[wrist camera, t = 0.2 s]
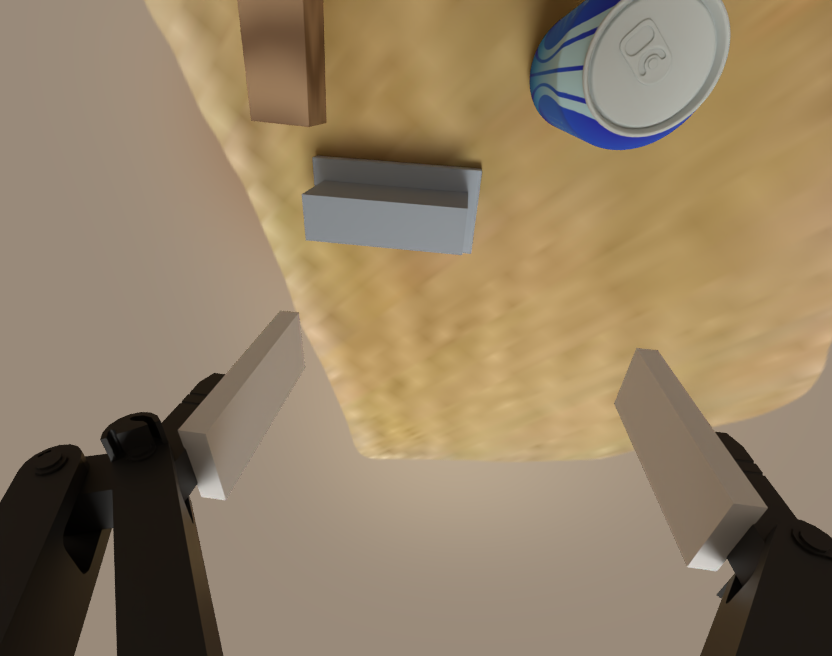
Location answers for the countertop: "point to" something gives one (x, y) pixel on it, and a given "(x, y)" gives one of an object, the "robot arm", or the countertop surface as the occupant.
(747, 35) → the countertop surface
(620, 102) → the beer can
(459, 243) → the fulcrum block
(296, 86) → the walnut bar
